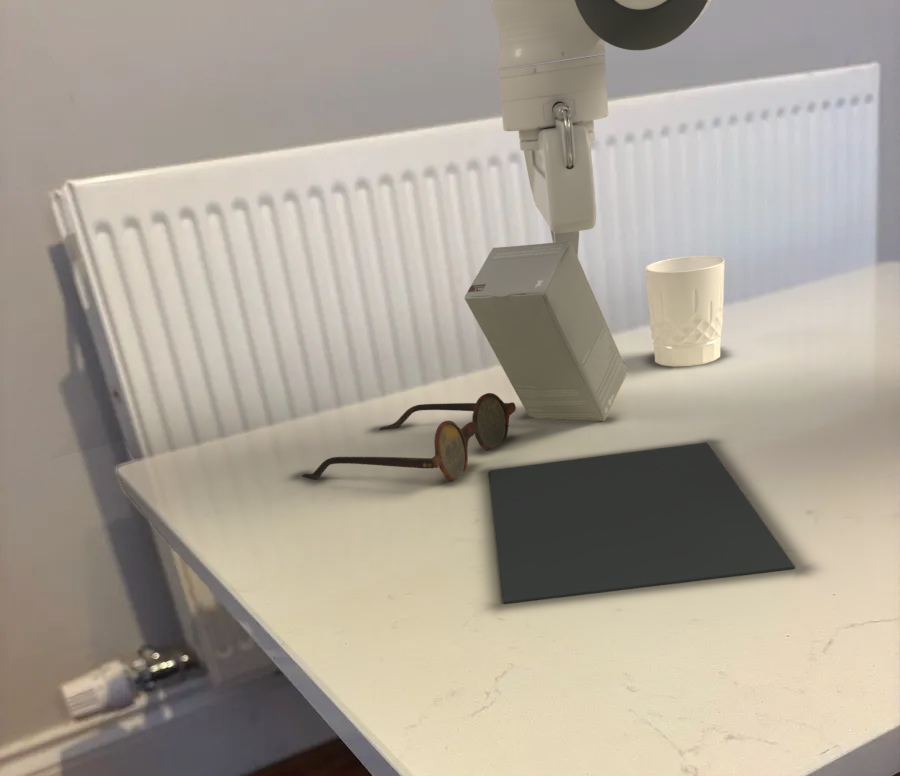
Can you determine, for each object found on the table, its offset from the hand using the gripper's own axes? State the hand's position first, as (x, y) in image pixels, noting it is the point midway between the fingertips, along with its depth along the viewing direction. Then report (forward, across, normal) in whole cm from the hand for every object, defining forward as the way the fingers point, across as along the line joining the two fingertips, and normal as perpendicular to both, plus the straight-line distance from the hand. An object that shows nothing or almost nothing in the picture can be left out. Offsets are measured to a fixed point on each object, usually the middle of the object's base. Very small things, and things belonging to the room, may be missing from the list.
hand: (567, 271), depth 92 cm
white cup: (+13, +13, -13) cm, 23 cm away
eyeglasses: (+13, -7, +16) cm, 22 cm away
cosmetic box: (+12, 0, 0) cm, 12 cm away
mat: (+13, -26, 0) cm, 29 cm away
